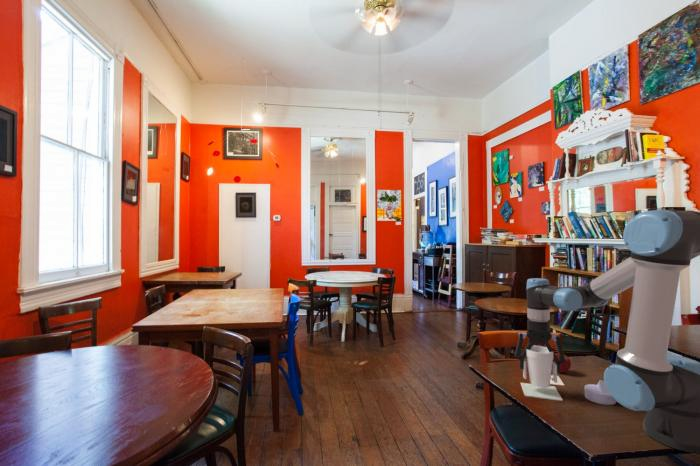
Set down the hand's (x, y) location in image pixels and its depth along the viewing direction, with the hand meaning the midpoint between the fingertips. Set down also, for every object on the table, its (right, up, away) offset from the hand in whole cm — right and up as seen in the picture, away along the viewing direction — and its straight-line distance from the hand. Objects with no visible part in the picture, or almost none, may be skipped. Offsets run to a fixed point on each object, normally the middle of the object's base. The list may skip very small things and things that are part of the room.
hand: (539, 379), depth 128 cm
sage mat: (0, -5, 0) cm, 5 cm away
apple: (+20, -5, +19) cm, 28 cm away
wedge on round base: (+20, -4, -7) cm, 22 cm away
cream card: (+9, -5, +11) cm, 15 cm away
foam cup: (0, -2, 0) cm, 2 cm away
